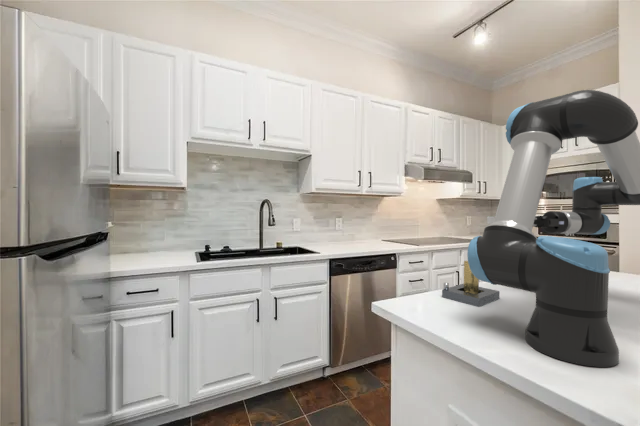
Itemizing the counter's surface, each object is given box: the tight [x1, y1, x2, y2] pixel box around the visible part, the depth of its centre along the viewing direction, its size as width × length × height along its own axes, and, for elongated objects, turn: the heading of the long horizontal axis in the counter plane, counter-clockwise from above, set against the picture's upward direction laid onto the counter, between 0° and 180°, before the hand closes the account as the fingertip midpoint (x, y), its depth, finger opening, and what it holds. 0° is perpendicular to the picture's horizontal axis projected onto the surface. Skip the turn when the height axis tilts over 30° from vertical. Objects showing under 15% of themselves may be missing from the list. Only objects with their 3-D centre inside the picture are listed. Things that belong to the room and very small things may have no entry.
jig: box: [441, 282, 501, 308], centre depth 99 cm, size 14×12×4 cm
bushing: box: [463, 260, 480, 294], centre depth 99 cm, size 4×4×12 cm
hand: (500, 220), depth 100 cm, fingers open, 13 cm apart
